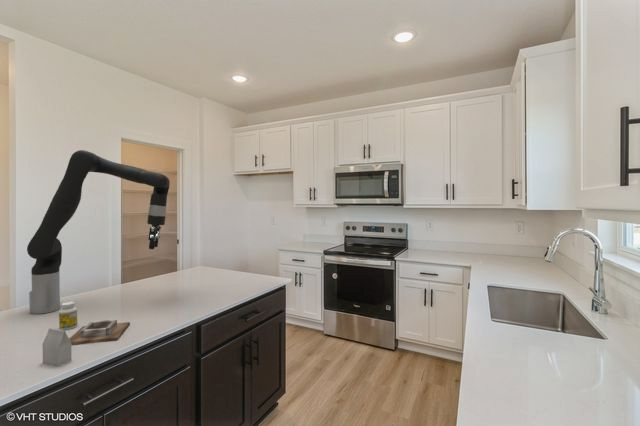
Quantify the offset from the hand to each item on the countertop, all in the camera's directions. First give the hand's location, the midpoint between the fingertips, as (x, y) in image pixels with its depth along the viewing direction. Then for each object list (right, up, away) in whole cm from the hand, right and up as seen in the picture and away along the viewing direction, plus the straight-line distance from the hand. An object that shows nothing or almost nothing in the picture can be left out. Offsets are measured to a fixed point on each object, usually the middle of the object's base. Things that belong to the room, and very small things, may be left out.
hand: (153, 248), depth 144 cm
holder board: (-2, -29, -32) cm, 43 cm away
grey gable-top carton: (-1, -30, -51) cm, 59 cm away
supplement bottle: (-18, -28, -27) cm, 43 cm away
